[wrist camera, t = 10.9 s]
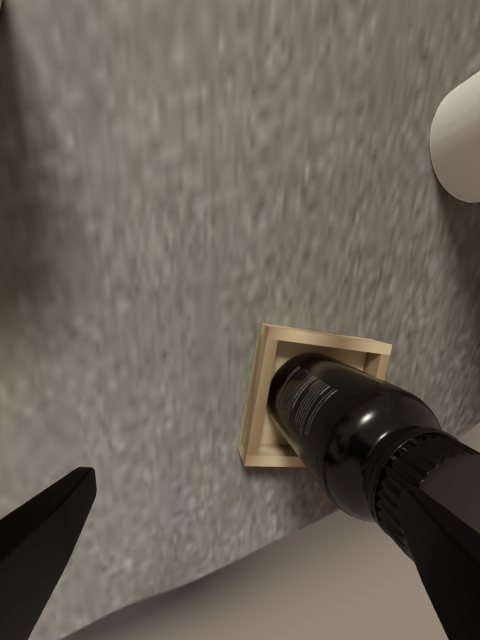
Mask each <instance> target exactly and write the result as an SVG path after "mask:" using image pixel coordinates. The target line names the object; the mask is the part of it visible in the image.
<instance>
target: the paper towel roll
mask: <svg viewBox="0 0 480 640" xmlns="http://www.w3.org/2000/svg"><path fill="white" fill-rule="evenodd" d="M429 147H430V157H431V162H432V166H433V169H434V172H435V174H436V176H437V178H438V180H439V182H440V183H441V185H442V186H443V187H444V189H445V190H446V191H447V192H448V193H449V194H451V195H452V196H453V197H455V198H457V199H458V200H461V201H464V202H468V203H478V202H480V71H479V72H478V73H476V74H475V75H473V76H472V77H470V78H469V79H468V80H466V81H465V82H463V83H462V84H461V85H459V86H458V87H456V88H455V89H454V90H452V91H451V92H450V93H449V94H448V95H447V96H446V97H445V98H444V99H443V101H442V102H441V104H440V105H439V107H438V109H437V111H436V113H435V116H434V119H433V122H432V126H431V131H430V142H429Z"/></svg>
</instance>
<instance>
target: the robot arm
mask: <svg viewBox="0 0 480 640" xmlns="http://www.w3.org/2000/svg"><path fill="white" fill-rule="evenodd" d="M96 491H97V488H96V477H95V470H94V468H92V467H78V468H76V469H75V470H73V471H72V472H70V473H69V474H67V475H66V476H64V477H63V478H61V479H60V480H58V481H57V482H55V483H54V484H52V485H51V486H50V487H48V488H47V489H45V490H44V491H42V492H41V493H39V494H38V495H36V496H35V497H33V498H32V499H30V500H29V501H27V502H26V503H24V504H23V505H21V506H20V507H18V508H17V509H15V510H14V511H12V512H11V513H9V514H8V515H7V516H5V517H4V518H2V519H1V520H0V640H28V638H29V636H30V634H31V632H32V630H33V628H34V626H35V625H36V623H37V621H38V619H39V617H40V615H41V613H42V611H43V609H44V607H45V605H46V604H47V602H48V600H49V598H50V596H51V594H52V592H53V590H54V588H55V586H56V584H57V583H58V581H59V579H60V577H61V575H62V573H63V571H64V569H65V567H66V565H67V563H68V561H69V559H70V557H71V554H72V552H73V550H74V547H75V545H76V543H77V540H78V538H79V535H80V533H81V531H82V528H83V526H84V524H85V521H86V519H87V516H88V514H89V512H90V509H91V507H92V505H93V502H94V500H95V497H96ZM397 515H398V519H399V522H400V524H401V527H402V530H403V532H404V535H405V538H406V540H407V543H408V546H409V548H410V551H411V554H412V556H413V559H414V562H415V564H416V567H417V570H418V572H419V575H420V578H421V580H422V583H423V585H424V587H425V589H426V592H427V594H428V596H429V598H430V600H431V602H432V605H433V607H434V609H435V611H436V613H437V615H438V618H439V619H440V622H441V624H442V626H443V628H444V630H445V632H446V635H447V637H448V639H449V640H480V533H478V532H477V531H476V530H474V529H473V528H472V527H470V526H469V525H468V524H466V523H465V522H464V521H462V520H461V519H460V518H458V517H457V516H456V515H454V514H453V513H452V512H450V511H449V510H448V509H446V508H445V507H444V506H442V505H441V504H440V503H438V502H437V501H436V500H434V499H433V498H432V497H430V496H429V495H428V494H427V493H425V492H424V491H423V490H421V489H419V488H415V487H404V488H403V489H402V492H401V496H400V500H399V503H398V507H397Z"/></svg>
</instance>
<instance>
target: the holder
mask: <svg viewBox="0 0 480 640" xmlns="http://www.w3.org/2000/svg"><path fill="white" fill-rule="evenodd" d="M391 348H392V345H391V344H387V343H384V342H380V341H376V340H373V339H366V338H359V337H352V336H346V335H339V334H332V333H325V332H319V331H312V330H305V329H298V328H292V327H285V326H278V325H271V324H264V323H260V324H259V330H258V336H257V341H256V347H255V353H254V359H253V364H252V370H251V376H250V381H249V387H248V393H247V399H246V404H245V410H244V416H243V422H242V427H241V433H240V439H239V444H238V450H239V453H240V456H241V458H242V461H243V464H244V466H265V467H306V466H305V465H304V463H303V462H302V461H301V459H300V458H299V457H298V455H297V454H296V453H295V451H294V450H293V449H292V447H291V446H290V445H289V443H288V442H287V441H286V439H285V438H284V437H283V435H282V434H281V433H280V431H279V430H278V428H277V427H276V426H275V424H274V423H273V421H272V419H271V417H270V415H269V412H268V407H267V399H268V393H269V388H270V382H271V380H272V377H273V376H274V374H275V373H276V371H277V370H278V369H279V368H280V366H282V365H283V364H284V363H285V362H286V361H287V360H289V359H291V358H292V357H294V356H297V355H300V354H303V353H321V354H324V355H327V356H330V357H332V358H335V359H337V360H339V361H341V362H344V363H346V364H348V365H350V366H352V367H355V368H357V369H359V370H361V371H364V372H366V373H368V374H370V375H373V376H375V377H377V378H379V379H381V380H384V381H385V376H386V372H387V367H388V362H389V358H390V353H391Z"/></svg>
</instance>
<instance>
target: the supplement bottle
mask: <svg viewBox="0 0 480 640" xmlns="http://www.w3.org/2000/svg"><path fill="white" fill-rule="evenodd" d="M267 407H268V412H269V415H270V417H271V419H272V421H273V423H274V424H275V426H276V427H277V428H278V430H279V431H280V433H281V434H282V435H283V437H284V438H285V439H286V441H287V442H288V443H289V445H290V446H291V447H292V449H293V450H294V451H295V453H296V454H297V455H298V457H299V458H300V459H301V461H302V462H303V463H304V465H305V466H306V467H307V469H308V470H309V471H310V473H311V474H312V475H313V477H314V478H315V479H316V481H317V482H318V483H319V485H320V486H321V487H322V489H323V490H324V491H325V493H326V494H327V495H328V497H329V498H330V499H331V500H332V501H333V503H334V504H335V505H336V506H337V507H338V508H340V509H341V510H342V511H344V512H345V513H347V514H349V515H350V516H353V517H355V518H357V519H360V520H364V521H369V522H376V523H377V524H378V525H379V526H380V528H381V529H382V530H383V531H384V532H385V533H386V534H387V535H389V536H390V537H391V538H392V539H393V540H394V541H395V543H396V544H397V545H398V546H399V547H400V548H401V549H402V551H403V552H404V553H405V554H406V555H407V556H408V557H409V558H411V559H412V561H414V559H413V556H412V554H411V551H410V548H409V546H408V543H407V540H406V538H405V535H404V532H403V530H402V527H401V524H400V522H399V519H398V515H397V507H398V503H399V500H400V496H401V492H402V489H403V488H404V487H415V488H419V489H421V490H423V491H424V492H425V493H427V494H428V495H429V496H430V497H432V498H433V499H434V500H436V501H437V502H438V503H440V504H441V505H442V506H444V507H445V508H446V509H448V510H449V511H450V512H452V513H453V514H454V515H456V516H457V517H458V518H460V519H461V520H462V521H464V522H465V523H466V524H468V525H469V526H470V527H472V528H473V529H474V530H476V531H477V532H478V533H480V453H479V452H477V451H476V450H474V449H472V448H470V447H468V446H466V445H464V444H463V443H461V442H459V441H458V440H457V439H456V438H455V437H454V436H452V435H450V434H448V433H446V432H444V431H442V429H441V427H440V424H439V422H438V420H437V418H436V416H435V415H434V413H433V412H432V411H431V409H430V408H429V407H428V406H427V405H426V404H425V403H424V402H423V401H422V400H421V399H420V398H418V397H417V396H415V395H413V394H412V393H410V392H408V391H406V390H404V389H402V388H399V387H397V386H395V385H393V384H390V383H388V382H386V381H384V380H381V379H379V378H377V377H375V376H373V375H370V374H368V373H366V372H364V371H361V370H359V369H357V368H355V367H352V366H350V365H348V364H346V363H344V362H341V361H339V360H337V359H335V358H332V357H330V356H327V355H324V354H321V353H303V354H300V355H297V356H294V357H292V358H291V359H289V360H287V361H286V362H285V363H284V364H283V365H282V366H280V368H279V369H278V370H277V371H276V373H275V374H274V376H273V377H272V380H271V382H270V388H269V393H268V399H267Z"/></svg>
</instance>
